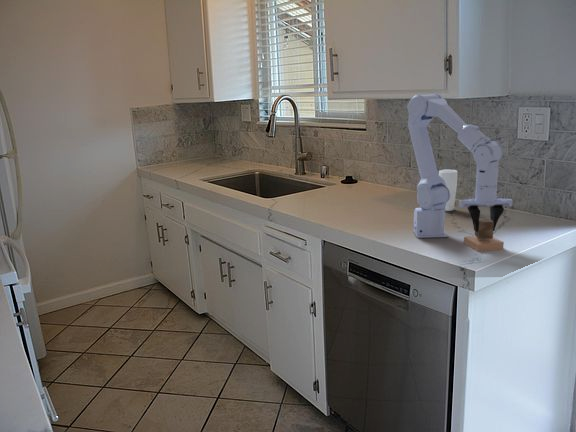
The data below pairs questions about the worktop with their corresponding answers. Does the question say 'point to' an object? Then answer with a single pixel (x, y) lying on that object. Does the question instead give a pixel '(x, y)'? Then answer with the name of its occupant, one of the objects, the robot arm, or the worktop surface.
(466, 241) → the terracotta tile
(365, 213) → the worktop surface
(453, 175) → the drinking glass
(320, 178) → the worktop surface
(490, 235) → the walnut block
